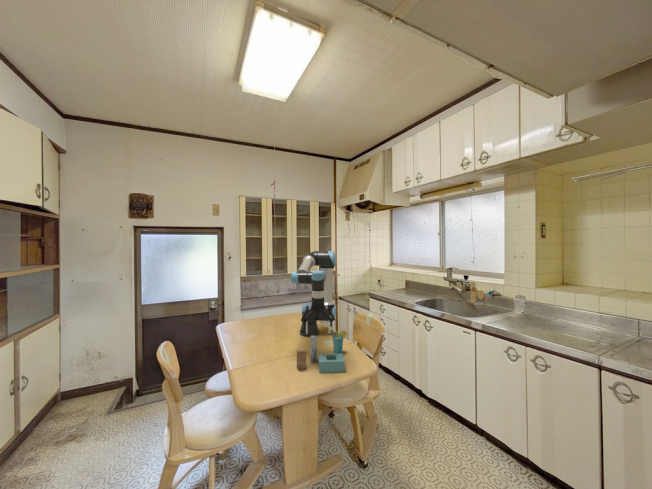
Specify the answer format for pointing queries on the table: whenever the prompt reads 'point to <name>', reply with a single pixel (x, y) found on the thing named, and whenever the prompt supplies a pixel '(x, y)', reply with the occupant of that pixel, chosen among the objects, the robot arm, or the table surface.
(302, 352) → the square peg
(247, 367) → the table surface
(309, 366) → the table surface
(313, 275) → the robot arm
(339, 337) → the cup
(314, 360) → the round dowel
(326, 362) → the socket block
